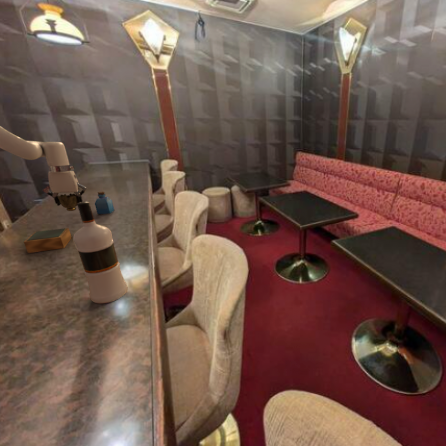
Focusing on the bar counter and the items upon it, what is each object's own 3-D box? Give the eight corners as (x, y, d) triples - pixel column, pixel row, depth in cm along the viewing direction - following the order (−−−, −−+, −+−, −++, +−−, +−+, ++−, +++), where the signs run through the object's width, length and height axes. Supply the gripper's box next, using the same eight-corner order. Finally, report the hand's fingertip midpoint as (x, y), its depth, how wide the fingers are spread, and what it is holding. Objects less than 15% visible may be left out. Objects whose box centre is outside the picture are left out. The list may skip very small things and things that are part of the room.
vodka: (83, 303, 72) (48, 206, 61) (108, 285, 81) (81, 196, 70) (113, 306, 72) (84, 208, 61) (135, 287, 80) (113, 198, 69)
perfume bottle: (97, 214, 141) (91, 193, 137) (102, 210, 147) (97, 191, 142) (110, 213, 143) (104, 193, 139) (114, 210, 148) (109, 190, 144)
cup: (61, 213, 120) (56, 197, 117) (62, 209, 125) (57, 194, 123) (81, 211, 125) (77, 195, 122) (81, 207, 130) (77, 192, 127)
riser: (28, 253, 98) (23, 241, 96) (39, 242, 107) (34, 231, 105) (64, 248, 103) (60, 236, 101) (71, 238, 112) (68, 227, 110)
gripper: (85, 167, 125) (93, 201, 131) (38, 168, 117) (49, 203, 123) (81, 169, 119) (90, 204, 125) (31, 170, 111) (43, 207, 117)
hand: (69, 204), depth 124 cm, fingers closed on cup, 7 cm apart
